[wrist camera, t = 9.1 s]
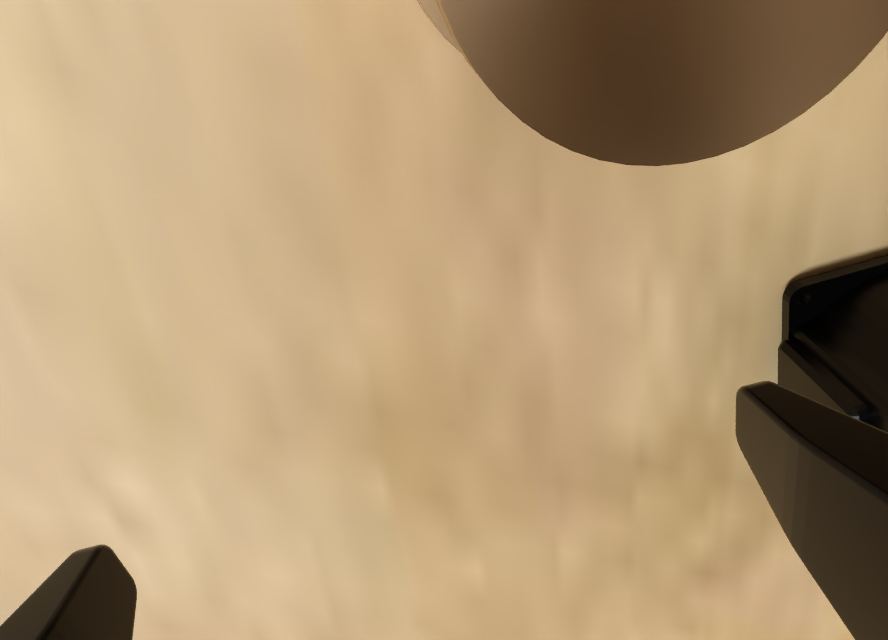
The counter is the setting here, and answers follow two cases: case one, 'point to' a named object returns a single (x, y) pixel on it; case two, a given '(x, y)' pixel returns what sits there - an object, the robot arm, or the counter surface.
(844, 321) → the robot arm
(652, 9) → the bobbin
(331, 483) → the counter surface
